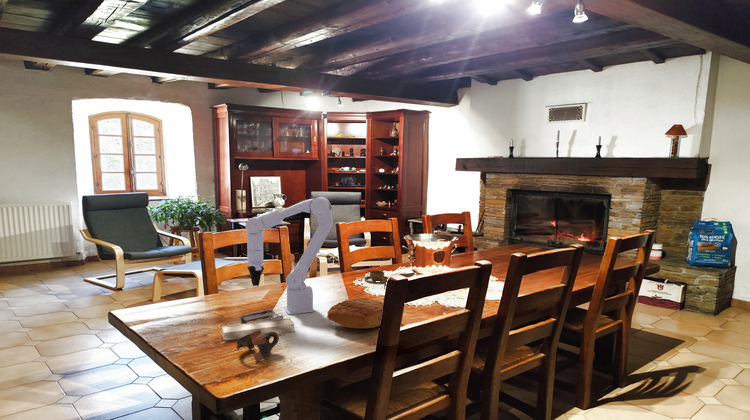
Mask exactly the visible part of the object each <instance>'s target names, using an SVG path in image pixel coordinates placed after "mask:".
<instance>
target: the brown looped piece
mask: <svg viewBox="0 0 750 420" xmlns="http://www.w3.org/2000/svg"><path fill="white" fill-rule="evenodd" d="M271 337H273V339H272V342H270V339H271ZM279 338H280V336H279V334H277V333H276V332H269V333H267V334H263V333H261V331H260V330H256V331H254V332H252V333H250V334H248V335H245V336H243V337H241V338H239V339H235V341H236V342H235V343H237V344H236V350H237V351H239V350H240V349H241V348H247V349H248V350H250V351H251V350H252V349H254V348H255V346H256V347H257V348H258V350H259V351H258V352H256V353H254V354H253V358H254V360H255V363H258V362H261V361H262V360H264V359H267V358H269V357H271V356H272V354H271V353H272V350H273V349H274V347H275V346H276V345H277V344H278V342H279Z"/></svg>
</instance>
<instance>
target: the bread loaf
mask: <svg viewBox="0 0 750 420" xmlns="http://www.w3.org/2000/svg"><path fill="white" fill-rule="evenodd" d="M383 303H384V302H382V301H380V300H377V299H373V298H369V297H360V296H357V297H354V298H350V299H346V300H345V299H344V300H343V301H341V302H338V303H337V304H333V306H331V307H330V308H329V309H328V311H327V317H326V318H327V319H328V320H329V321H330V322H333V323H336V324H338V325H340V326H342V327H345V328H350V329H374V328H378V327H381V326H380V322H381V317H382V310H383Z"/></svg>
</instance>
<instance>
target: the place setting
mask: <svg viewBox="0 0 750 420" xmlns="http://www.w3.org/2000/svg"><path fill="white" fill-rule="evenodd" d="M388 278H389V277H388V276H385V271H383V270H376V269H375V270H370V271H369V275H368V276H365V277H364V281H365V283H367V284H372V283H373V284H375V285H378V284H377V283H383V289H384V290H386V289H385V286H386V287H387V283H386V282H387V279H388ZM370 279H371V280H370ZM357 281H358V282H362V281H363V278H361V279H357ZM376 281H380V282H376ZM373 284H372V285H373Z"/></svg>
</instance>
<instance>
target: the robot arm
mask: <svg viewBox="0 0 750 420" xmlns="http://www.w3.org/2000/svg"><path fill="white" fill-rule="evenodd" d="M302 212H303V213H308V214H310V213H311V212H312V214H313V215H314V217H315V218H316V221H317V223H318V227H317V228H316V230H315V232H314V233H313V235H312V237H311V239H310V240H309V243H308V244H307V245H306V248H305V250H304V252H303V253H302V255H301V257H300V258H299V261H298V262H297V264H296V265H295V267H294V268H292V269H291V271H290V273H288V275H287V276H286V278H285V283H286V306H284V307H283V309H284V311H285V313H287V315H295V314H296V315H297V314H304V313H305V314H306V313H313V312H314V293H313V288H312V286H310V285H309V286H307V285H306V282H305V281H306V279H307V276H308V275H307V274H308V270H309V269H310V267H311V265H312V263H313V261H314V260H315V258H316V256H317V254H318V253H319V251H320V249H321V248H322V246H323V244H324V242H325V240H326V239H327V237H328V235H329V233H330V231H331V230H332V228H333V225H334V219H333V207H332V204H331V202H330V200H329V199H328V198H327V197H326V196H318V197H316V198H315V197H314V198H309V199H306V200H303V201H300V202H297V203H296V204H294V205H291V206H289V207H285V208H284V209H282V210H280V209H277V208H270V209H268V211H266V212H264V213H258V214H256V216H253V217H251V218H249V219H248V220H247V221H246V222H245V230H246V233H247V238H246V239H247V240H246V243H247V245H246V246H247V249H246V250H247V251H246V252H247V260H246V261H244V262H243V263H244V265H249V266H247V267H246V268H247V270H248V272H249V275H250V279H251V284H252V287H257V286H260V282H261V277H262V274H263V271H264V269H265V267H264V266H263V265H264V263H265V260H264V231H263V230H268V229H271V228H272V227H276V226H277V225H280V224H282V223H283V221H284V219H286V218H288V217H292V216H294V215H297V214H300V213H302Z"/></svg>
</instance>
